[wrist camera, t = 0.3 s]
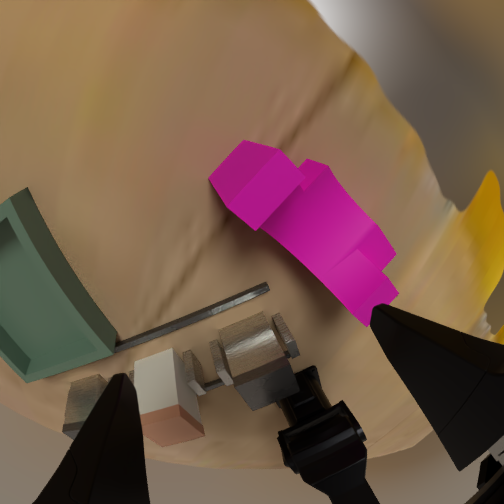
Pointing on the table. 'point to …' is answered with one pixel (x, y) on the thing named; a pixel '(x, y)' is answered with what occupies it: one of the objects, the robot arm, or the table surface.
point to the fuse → (166, 400)
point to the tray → (43, 300)
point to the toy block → (310, 222)
